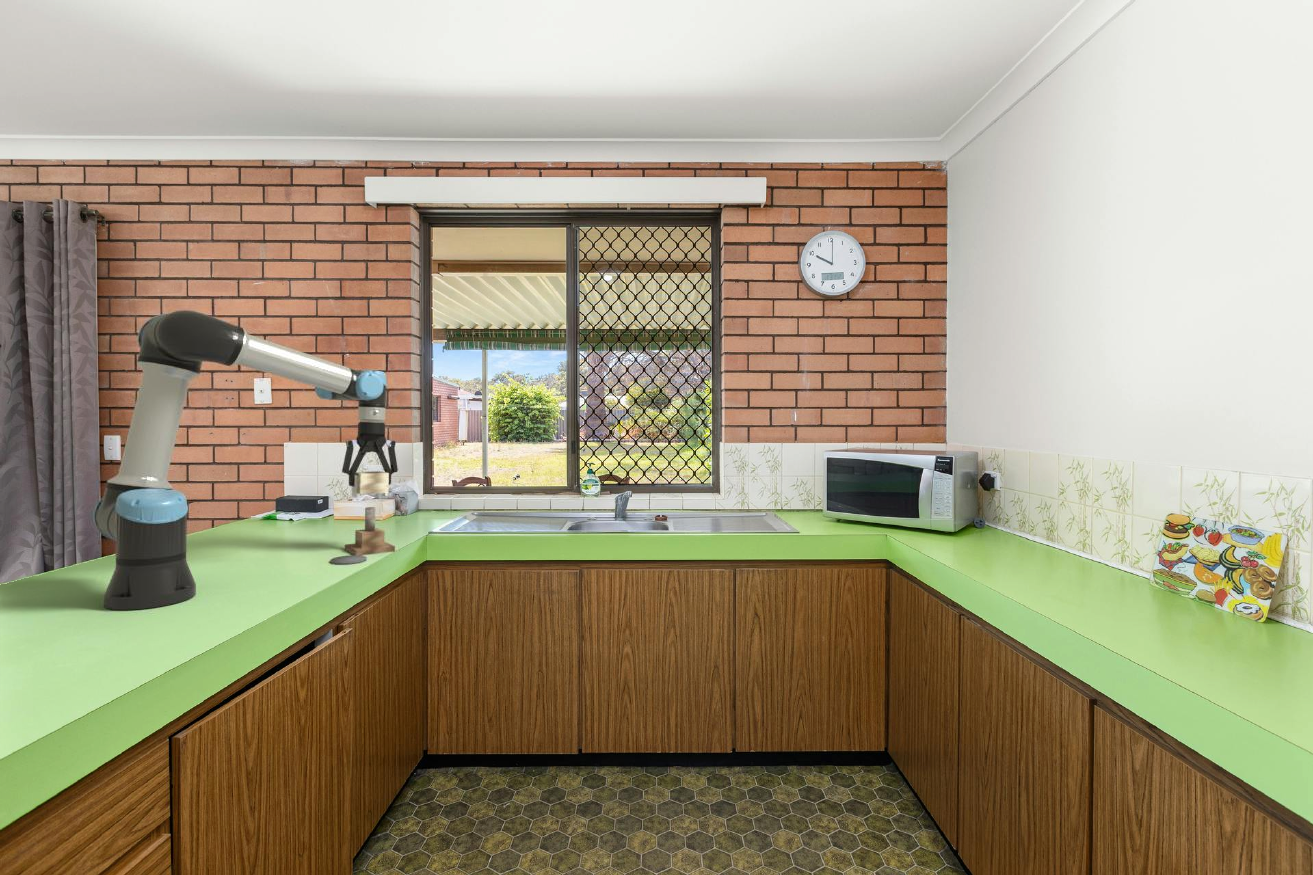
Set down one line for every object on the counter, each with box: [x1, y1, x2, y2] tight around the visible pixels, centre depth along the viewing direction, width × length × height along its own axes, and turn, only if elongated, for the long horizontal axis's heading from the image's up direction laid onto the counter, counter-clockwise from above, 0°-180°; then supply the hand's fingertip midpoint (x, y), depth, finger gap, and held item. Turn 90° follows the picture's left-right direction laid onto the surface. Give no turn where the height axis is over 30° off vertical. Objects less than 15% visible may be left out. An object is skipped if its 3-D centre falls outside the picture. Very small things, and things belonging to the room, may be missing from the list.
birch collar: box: [355, 470, 390, 495], centre depth 181 cm, size 8×8×6 cm
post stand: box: [344, 506, 396, 556], centre depth 182 cm, size 11×11×13 cm
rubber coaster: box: [330, 554, 368, 566], centre depth 168 cm, size 9×9×1 cm
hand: (369, 496), depth 181 cm, fingers closed on birch collar, 8 cm apart
